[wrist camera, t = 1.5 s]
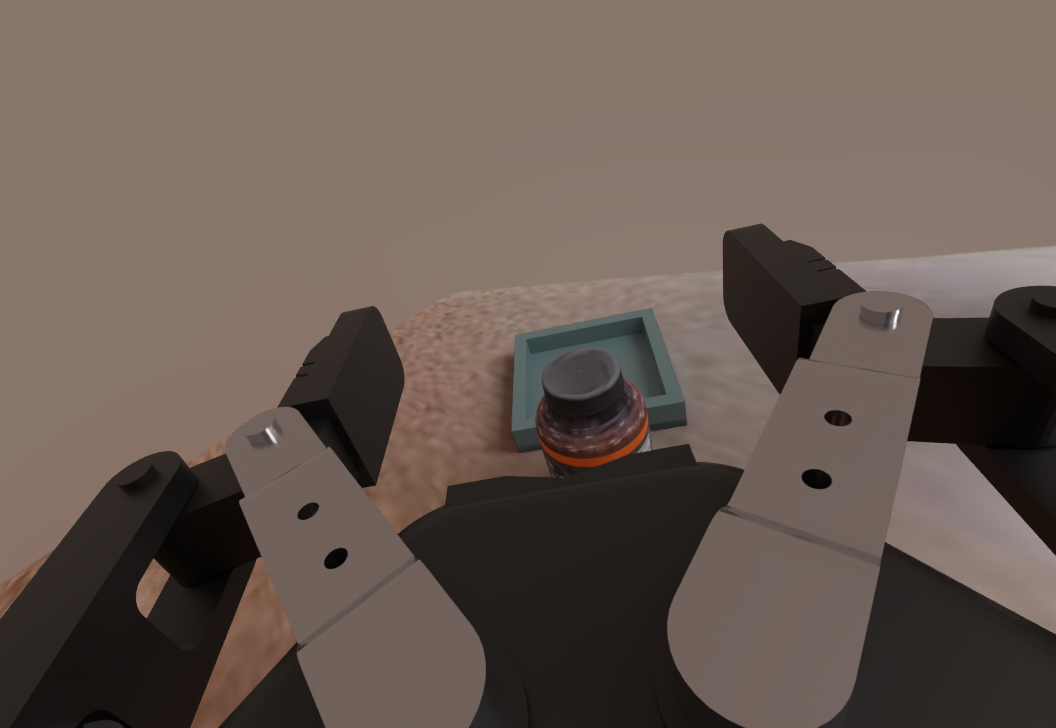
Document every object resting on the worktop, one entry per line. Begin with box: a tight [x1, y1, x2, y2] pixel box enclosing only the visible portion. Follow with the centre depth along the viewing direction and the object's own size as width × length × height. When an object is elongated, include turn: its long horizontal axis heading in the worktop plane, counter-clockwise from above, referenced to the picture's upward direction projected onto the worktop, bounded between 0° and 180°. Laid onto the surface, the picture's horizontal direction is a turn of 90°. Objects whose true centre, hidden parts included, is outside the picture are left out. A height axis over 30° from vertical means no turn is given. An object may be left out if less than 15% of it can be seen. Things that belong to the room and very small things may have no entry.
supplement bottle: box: [535, 347, 652, 478], centre depth 30 cm, size 6×6×11 cm
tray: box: [512, 308, 687, 452], centre depth 42 cm, size 12×12×2 cm
